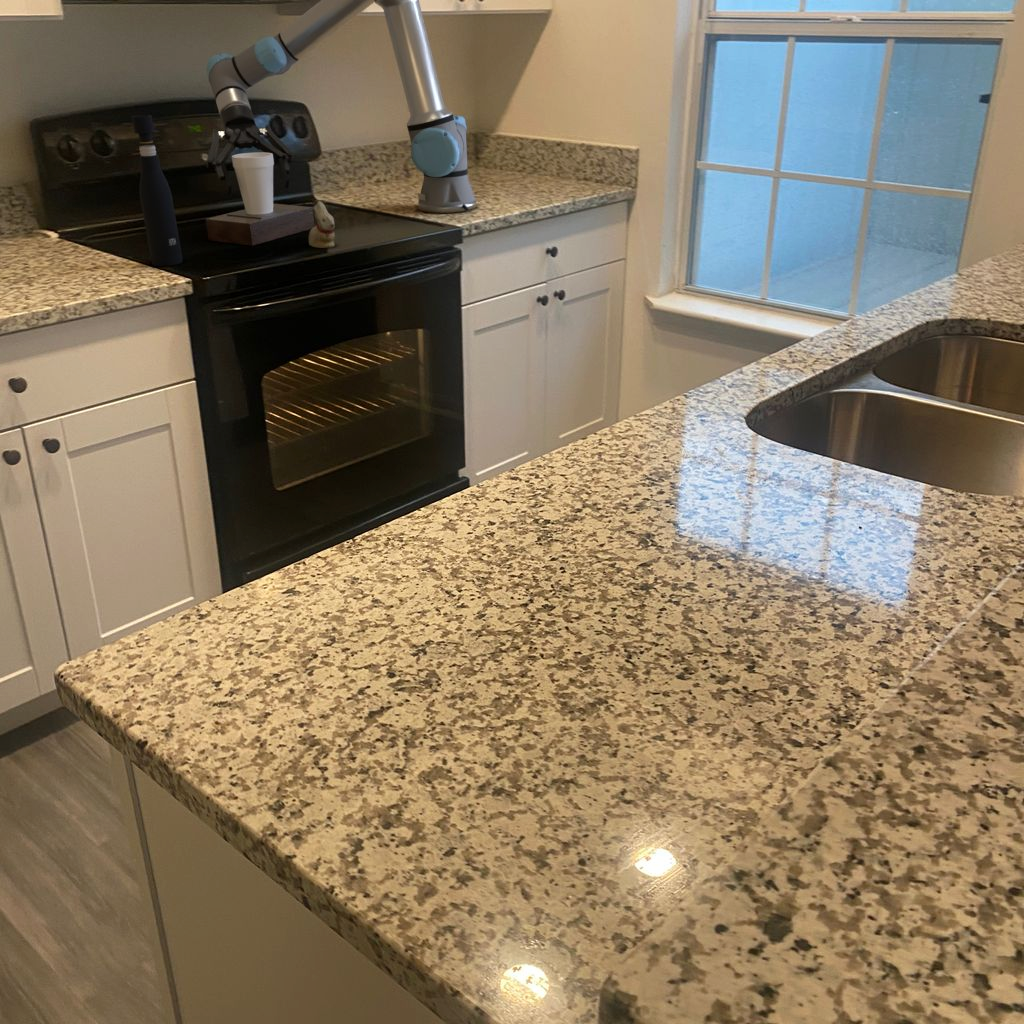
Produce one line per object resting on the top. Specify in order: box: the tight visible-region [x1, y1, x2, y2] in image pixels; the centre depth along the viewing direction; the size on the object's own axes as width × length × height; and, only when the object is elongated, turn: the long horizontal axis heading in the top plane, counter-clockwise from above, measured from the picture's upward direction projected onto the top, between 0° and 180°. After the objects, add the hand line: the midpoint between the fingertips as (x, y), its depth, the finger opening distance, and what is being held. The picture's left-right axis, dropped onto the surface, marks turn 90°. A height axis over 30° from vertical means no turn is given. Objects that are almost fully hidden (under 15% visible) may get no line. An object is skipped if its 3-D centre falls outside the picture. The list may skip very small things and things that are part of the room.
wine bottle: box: [131, 114, 184, 267], centre depth 216 cm, size 6×6×30 cm
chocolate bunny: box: [308, 200, 336, 249], centre depth 233 cm, size 6×8×10 cm
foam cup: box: [231, 151, 275, 214], centre depth 243 cm, size 10×9×13 cm
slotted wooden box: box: [205, 203, 316, 247], centre depth 247 cm, size 14×22×5 cm, turn 149°
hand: (258, 187), depth 241 cm, fingers open, 13 cm apart
